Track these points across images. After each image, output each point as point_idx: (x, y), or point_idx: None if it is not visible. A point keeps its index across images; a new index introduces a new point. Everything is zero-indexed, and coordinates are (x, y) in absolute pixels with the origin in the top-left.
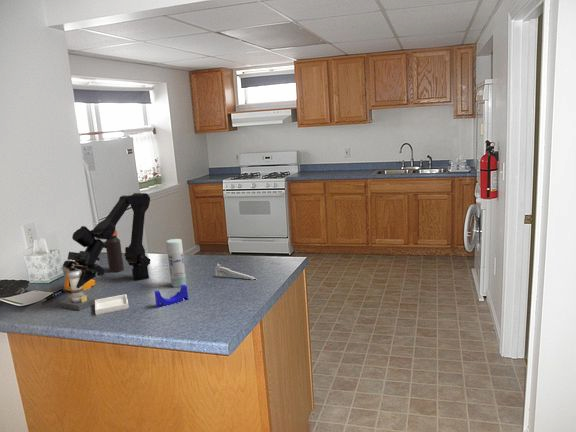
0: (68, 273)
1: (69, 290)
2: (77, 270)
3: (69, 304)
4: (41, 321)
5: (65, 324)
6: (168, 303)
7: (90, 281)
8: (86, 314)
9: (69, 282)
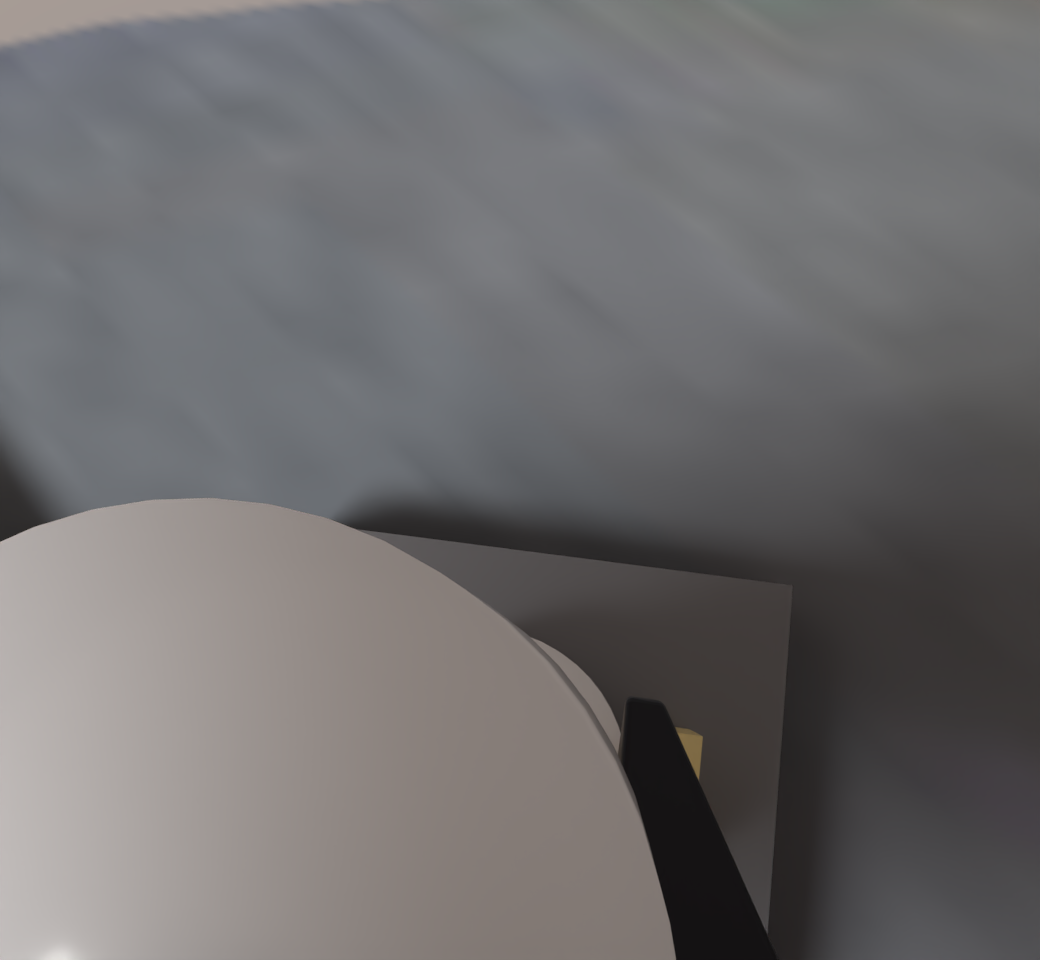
0: (353, 561)
1: None
2: None
3: (552, 554)
4: (625, 65)
5: (170, 90)
6: None
7: None
8: (83, 432)
9: (677, 785)
